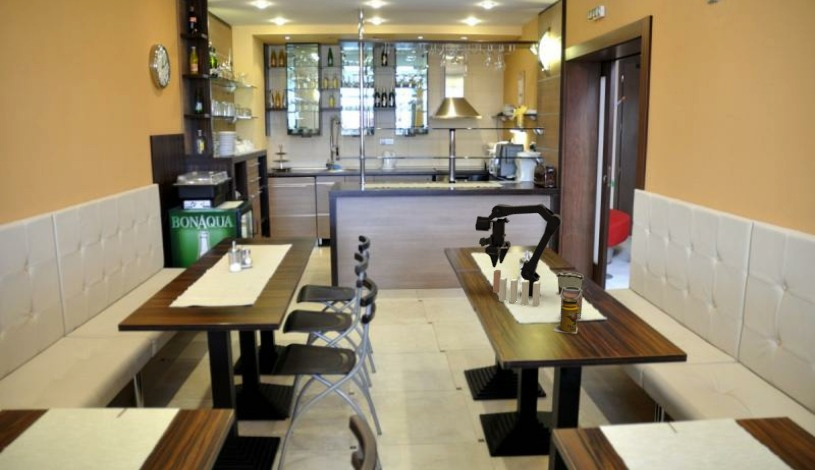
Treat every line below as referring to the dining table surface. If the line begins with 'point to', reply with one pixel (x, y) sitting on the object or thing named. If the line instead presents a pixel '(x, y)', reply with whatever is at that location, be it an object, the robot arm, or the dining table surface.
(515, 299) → the domino
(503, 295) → the domino
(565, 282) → the food container
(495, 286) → the domino
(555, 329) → the condiment
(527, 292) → the domino
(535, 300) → the domino
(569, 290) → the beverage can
